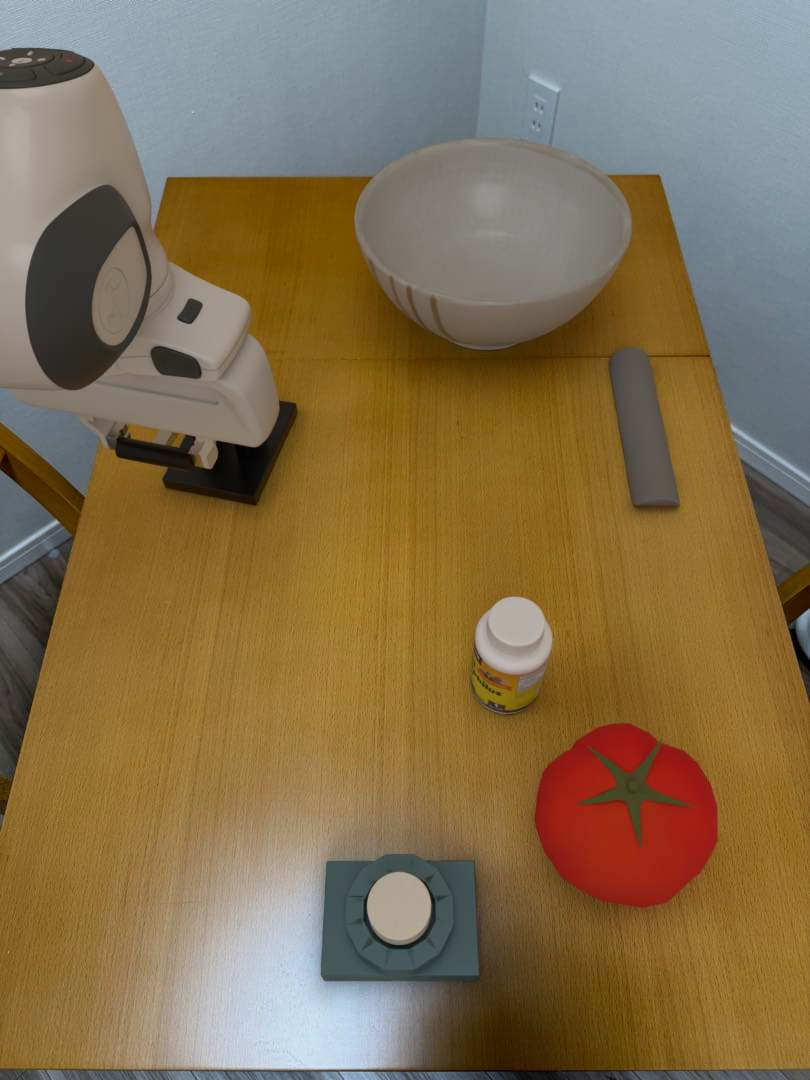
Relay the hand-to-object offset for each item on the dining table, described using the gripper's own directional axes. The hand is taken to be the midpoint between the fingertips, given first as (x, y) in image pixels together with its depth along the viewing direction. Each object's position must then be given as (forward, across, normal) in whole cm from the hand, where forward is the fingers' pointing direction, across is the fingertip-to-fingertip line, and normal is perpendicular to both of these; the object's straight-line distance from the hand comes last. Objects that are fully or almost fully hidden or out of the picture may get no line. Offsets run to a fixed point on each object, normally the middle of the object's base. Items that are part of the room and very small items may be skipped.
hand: (162, 453), depth 67 cm
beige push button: (+8, +26, -27) cm, 38 cm away
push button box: (+11, +26, -26) cm, 39 cm away
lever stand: (+11, 0, +10) cm, 15 cm away
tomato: (+11, +39, -17) cm, 44 cm away
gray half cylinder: (+11, +38, +22) cm, 45 cm away
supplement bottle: (+11, +30, -8) cm, 33 cm away
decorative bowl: (+10, +20, +35) cm, 42 cm away
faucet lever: (+1, 0, +5) cm, 5 cm away
